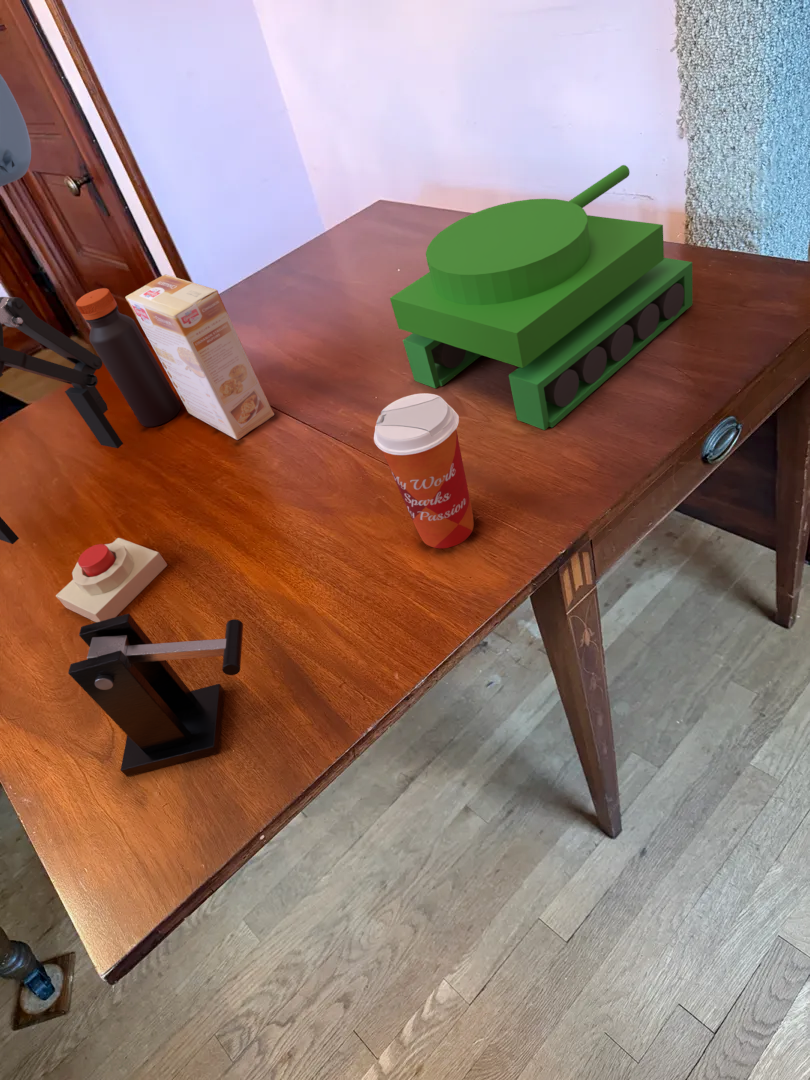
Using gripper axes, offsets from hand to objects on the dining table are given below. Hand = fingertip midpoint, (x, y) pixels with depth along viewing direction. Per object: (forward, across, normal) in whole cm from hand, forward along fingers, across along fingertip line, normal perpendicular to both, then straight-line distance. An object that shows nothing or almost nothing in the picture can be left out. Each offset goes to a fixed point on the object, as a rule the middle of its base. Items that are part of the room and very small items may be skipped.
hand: (62, 489), depth 71 cm
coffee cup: (+18, +20, -27) cm, 38 cm away
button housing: (+18, +1, +8) cm, 20 cm away
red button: (+15, +1, +8) cm, 17 cm away
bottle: (+19, +31, +30) cm, 48 cm away
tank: (+19, +58, -25) cm, 66 cm away
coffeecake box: (+19, +34, +17) cm, 42 cm away
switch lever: (+8, -8, -18) cm, 21 cm away
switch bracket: (+18, -11, -14) cm, 26 cm away
